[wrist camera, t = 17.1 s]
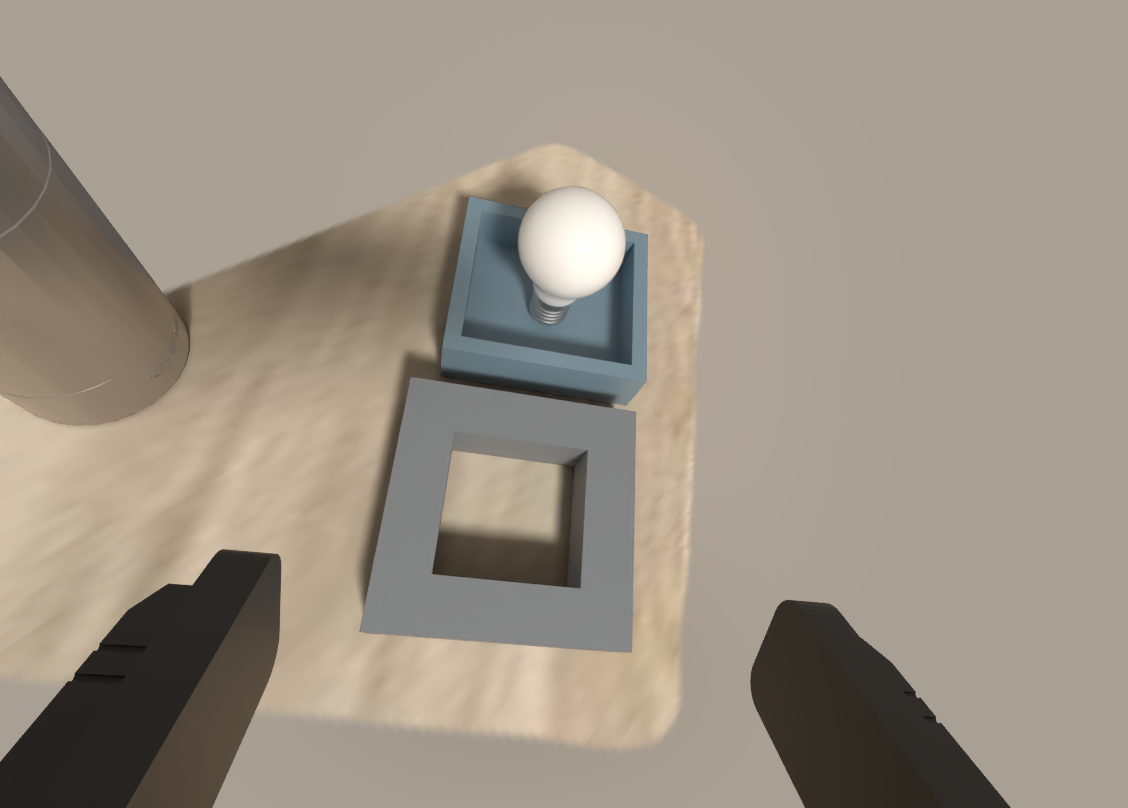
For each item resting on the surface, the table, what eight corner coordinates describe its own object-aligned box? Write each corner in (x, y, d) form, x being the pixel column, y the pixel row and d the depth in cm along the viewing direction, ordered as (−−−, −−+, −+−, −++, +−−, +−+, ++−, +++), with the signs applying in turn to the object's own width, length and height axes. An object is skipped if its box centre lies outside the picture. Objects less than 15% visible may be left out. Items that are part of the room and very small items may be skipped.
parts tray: (440, 376, 37) (441, 347, 34) (465, 234, 42) (469, 196, 39) (626, 405, 40) (646, 381, 36) (629, 267, 44) (647, 234, 41)
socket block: (366, 633, 31) (359, 631, 27) (412, 399, 36) (410, 376, 33) (612, 651, 33) (631, 652, 30) (619, 430, 39) (636, 411, 36)
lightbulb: (541, 262, 42) (577, 143, 32) (606, 316, 41) (662, 213, 31) (483, 311, 39) (502, 198, 29) (551, 370, 38) (594, 275, 29)
